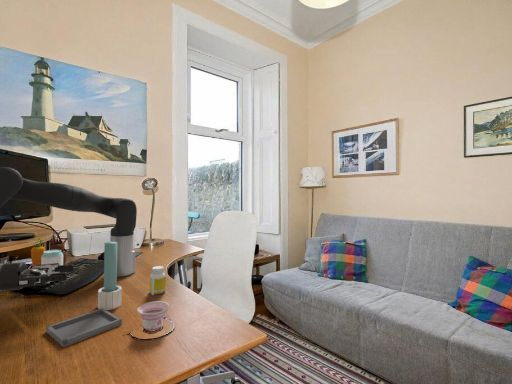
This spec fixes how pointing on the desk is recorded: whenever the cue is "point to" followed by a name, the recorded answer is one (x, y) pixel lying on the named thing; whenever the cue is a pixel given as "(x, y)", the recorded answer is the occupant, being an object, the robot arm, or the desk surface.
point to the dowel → (110, 266)
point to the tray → (82, 326)
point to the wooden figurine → (59, 248)
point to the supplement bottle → (157, 281)
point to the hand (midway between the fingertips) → (70, 271)
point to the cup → (109, 298)
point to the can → (52, 257)
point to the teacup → (154, 315)
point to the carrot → (37, 253)
